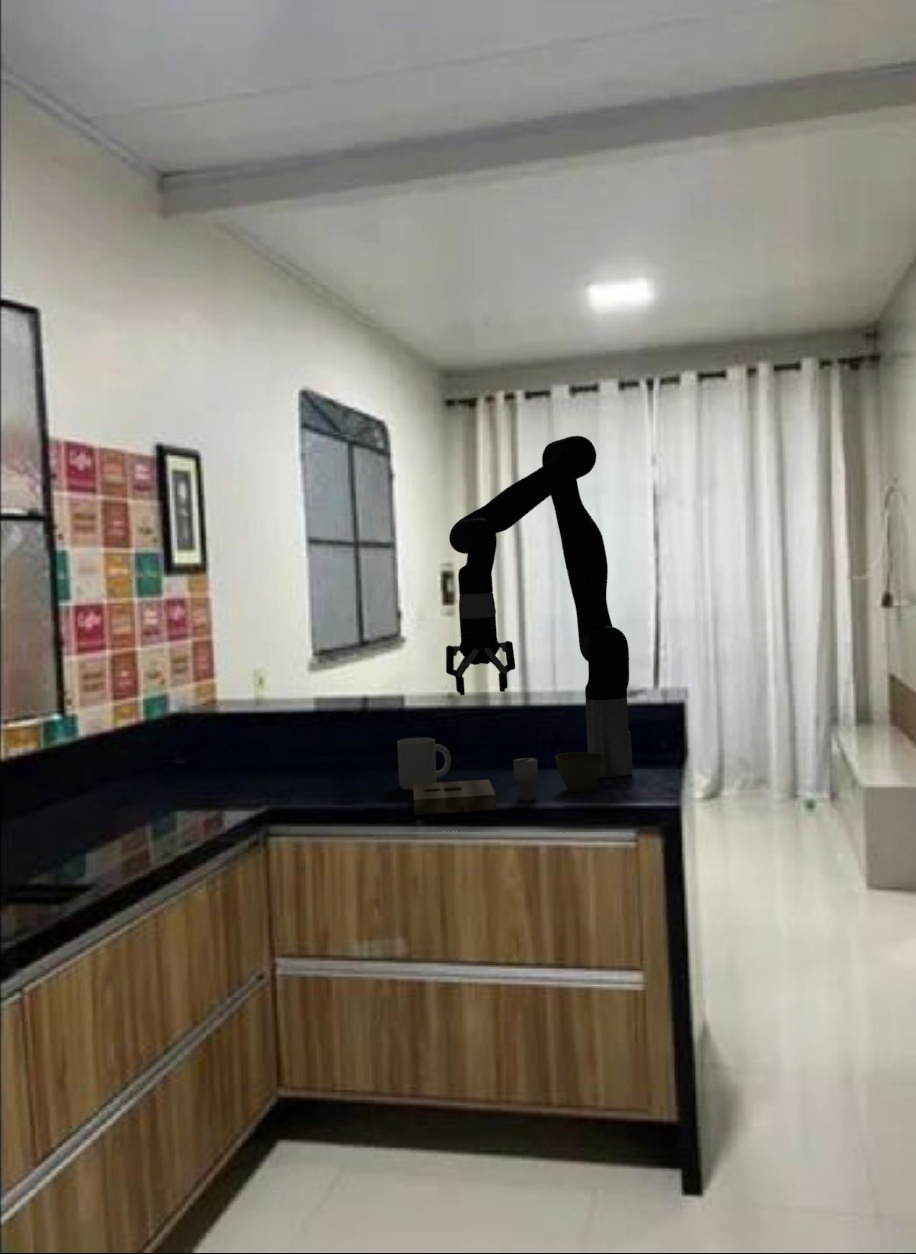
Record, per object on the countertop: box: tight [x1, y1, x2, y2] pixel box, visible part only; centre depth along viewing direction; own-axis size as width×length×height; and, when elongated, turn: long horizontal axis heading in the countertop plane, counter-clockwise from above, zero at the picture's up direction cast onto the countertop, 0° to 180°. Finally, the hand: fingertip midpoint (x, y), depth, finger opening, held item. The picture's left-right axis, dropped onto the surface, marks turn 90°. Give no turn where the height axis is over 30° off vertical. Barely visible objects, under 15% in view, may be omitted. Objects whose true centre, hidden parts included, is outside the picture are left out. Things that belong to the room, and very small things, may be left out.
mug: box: [396, 737, 452, 791], centre depth 242 cm, size 12×8×10 cm
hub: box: [412, 779, 497, 816], centre depth 222 cm, size 16×16×3 cm
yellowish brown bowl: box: [554, 751, 603, 793], centre depth 229 cm, size 10×10×7 cm
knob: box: [513, 757, 539, 802], centre depth 223 cm, size 5×5×8 cm
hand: (482, 693), depth 228 cm, fingers open, 8 cm apart
